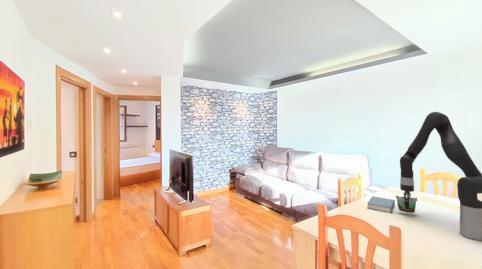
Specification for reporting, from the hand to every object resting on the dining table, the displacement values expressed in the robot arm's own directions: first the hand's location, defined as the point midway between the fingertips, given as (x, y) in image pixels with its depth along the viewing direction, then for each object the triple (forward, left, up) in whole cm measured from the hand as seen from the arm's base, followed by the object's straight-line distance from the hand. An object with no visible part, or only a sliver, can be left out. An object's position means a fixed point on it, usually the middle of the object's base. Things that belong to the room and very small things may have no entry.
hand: (407, 207), depth 147 cm
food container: (-1, 0, -3) cm, 3 cm away
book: (+6, +16, -5) cm, 18 cm away
